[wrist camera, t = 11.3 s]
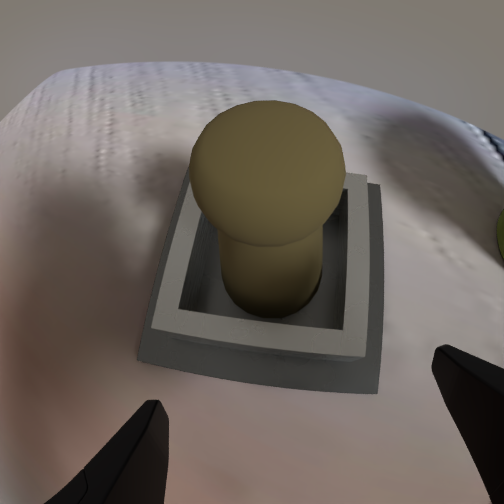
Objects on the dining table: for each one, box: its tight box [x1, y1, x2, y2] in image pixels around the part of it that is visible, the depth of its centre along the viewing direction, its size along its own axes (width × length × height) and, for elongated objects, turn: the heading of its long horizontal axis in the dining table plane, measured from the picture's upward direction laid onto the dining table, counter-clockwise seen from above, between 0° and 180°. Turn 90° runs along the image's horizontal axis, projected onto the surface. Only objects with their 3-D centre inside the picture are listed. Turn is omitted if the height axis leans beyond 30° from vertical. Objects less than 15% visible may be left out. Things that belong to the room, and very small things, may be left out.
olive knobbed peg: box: [189, 100, 346, 318], centre depth 14 cm, size 6×6×11 cm
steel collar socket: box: [137, 167, 384, 394], centre depth 18 cm, size 14×14×4 cm
